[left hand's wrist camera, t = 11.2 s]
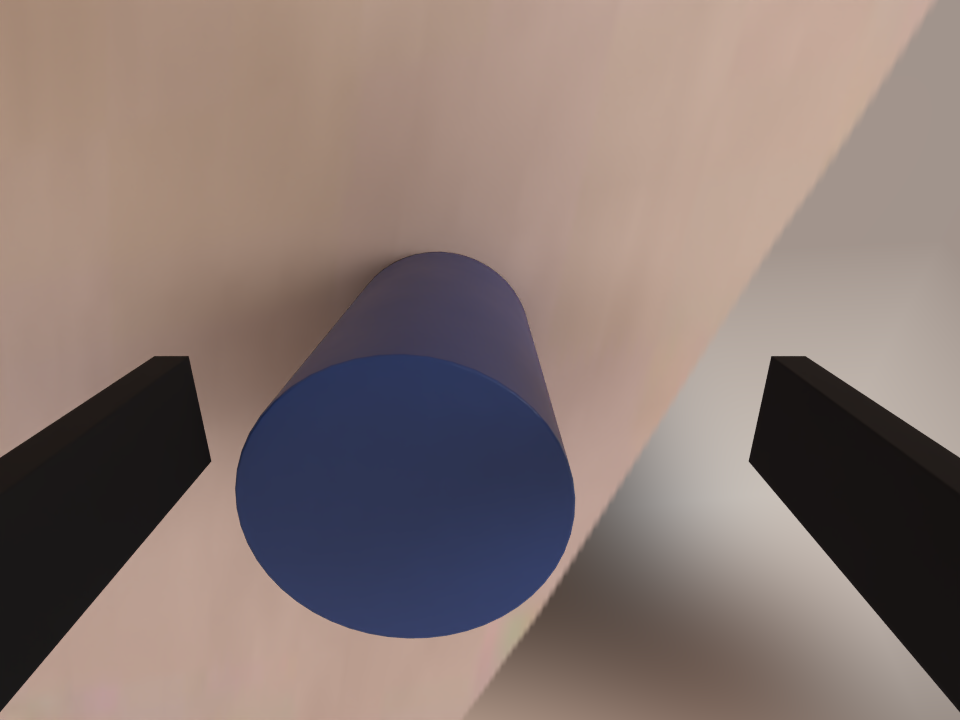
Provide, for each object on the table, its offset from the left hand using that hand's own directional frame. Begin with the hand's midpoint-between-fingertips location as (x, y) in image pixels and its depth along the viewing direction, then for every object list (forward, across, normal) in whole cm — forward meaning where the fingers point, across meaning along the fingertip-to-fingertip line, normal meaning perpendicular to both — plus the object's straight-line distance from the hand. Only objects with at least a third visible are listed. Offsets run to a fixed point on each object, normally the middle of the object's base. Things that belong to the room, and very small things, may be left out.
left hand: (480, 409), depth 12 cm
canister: (+12, -2, -3) cm, 12 cm away
